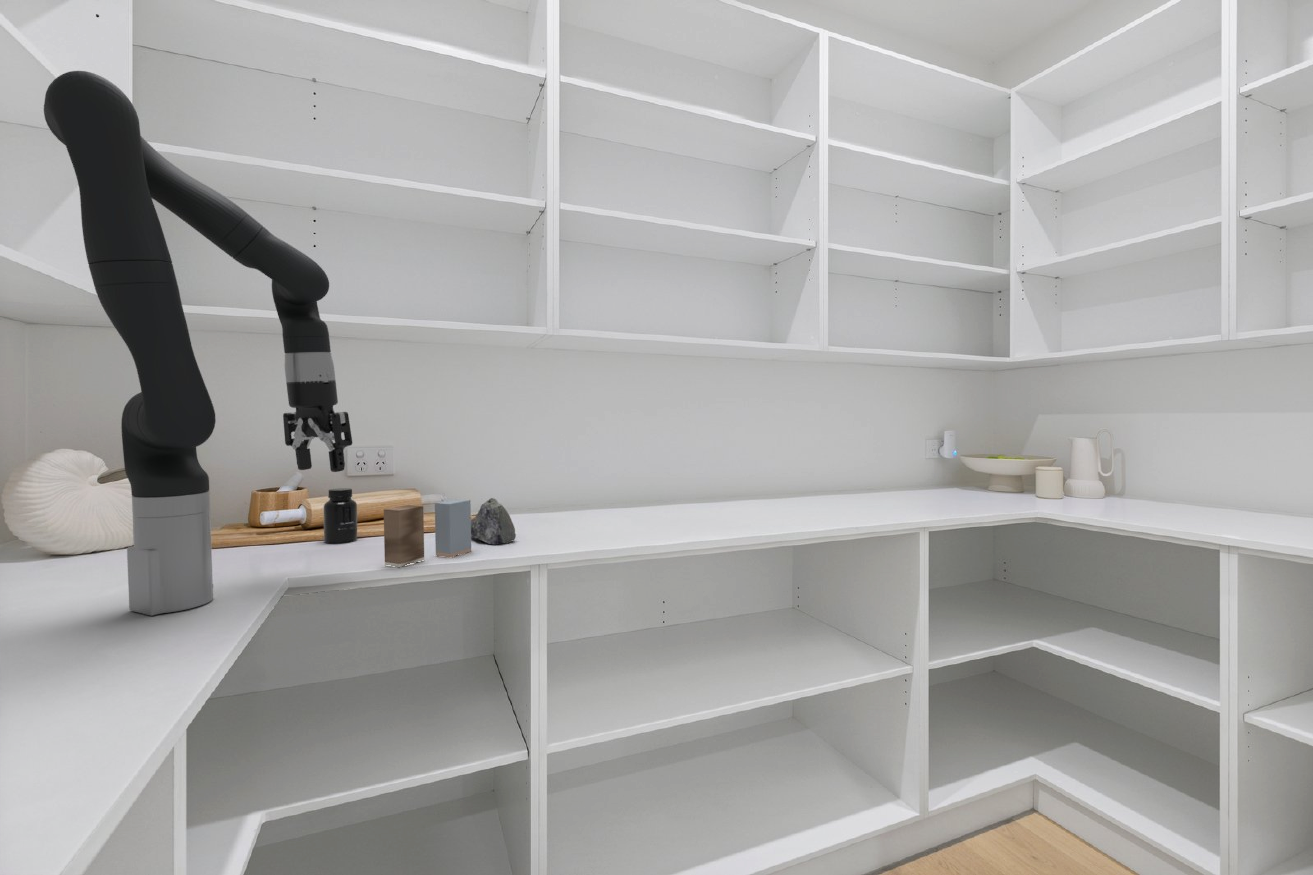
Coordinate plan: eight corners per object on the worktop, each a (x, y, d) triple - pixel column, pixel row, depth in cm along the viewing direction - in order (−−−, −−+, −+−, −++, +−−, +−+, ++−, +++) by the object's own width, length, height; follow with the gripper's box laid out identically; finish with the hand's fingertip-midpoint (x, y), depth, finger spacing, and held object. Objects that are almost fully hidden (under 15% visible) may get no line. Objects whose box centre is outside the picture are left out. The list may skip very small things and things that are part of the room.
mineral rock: (468, 536, 143) (467, 494, 142) (514, 533, 146) (513, 492, 145) (466, 547, 130) (465, 502, 130) (516, 544, 133) (515, 500, 133)
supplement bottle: (347, 544, 134) (346, 491, 133) (317, 544, 134) (316, 491, 133) (363, 537, 141) (362, 487, 140) (334, 537, 141) (333, 487, 140)
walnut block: (399, 568, 113) (398, 510, 112) (384, 566, 115) (383, 509, 114) (424, 561, 118) (423, 506, 118) (409, 559, 120) (408, 504, 120)
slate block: (450, 558, 121) (449, 504, 120) (435, 556, 122) (434, 503, 122) (471, 551, 126) (470, 500, 126) (456, 549, 128) (455, 499, 127)
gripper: (263, 381, 104) (274, 472, 106) (319, 379, 98) (329, 476, 100) (303, 379, 110) (313, 465, 112) (358, 377, 105) (367, 468, 107)
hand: (321, 470), depth 106 cm, fingers open, 8 cm apart
